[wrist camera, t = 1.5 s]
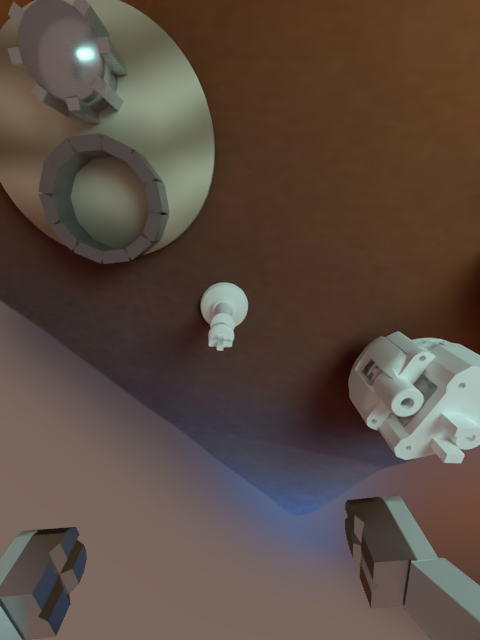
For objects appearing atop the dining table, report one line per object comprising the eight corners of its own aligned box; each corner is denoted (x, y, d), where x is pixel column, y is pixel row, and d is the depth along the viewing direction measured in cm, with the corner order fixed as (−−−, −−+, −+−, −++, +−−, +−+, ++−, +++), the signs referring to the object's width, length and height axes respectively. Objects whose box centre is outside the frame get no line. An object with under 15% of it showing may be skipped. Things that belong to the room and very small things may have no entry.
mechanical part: (403, 418, 35) (483, 514, 23) (320, 384, 33) (365, 470, 21) (464, 343, 31) (592, 413, 20) (376, 299, 29) (464, 350, 18)
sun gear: (24, 22, 20) (-11, -11, 17) (114, 11, 19) (94, -25, 17) (54, 129, 22) (28, 116, 19) (136, 119, 22) (121, 105, 19)
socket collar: (44, 150, 22) (21, 142, 20) (156, 137, 22) (147, 127, 20) (78, 263, 25) (62, 268, 23) (176, 252, 25) (170, 256, 23)
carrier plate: (-39, 26, 21) (-66, 7, 19) (198, -3, 21) (194, -25, 19) (43, 265, 27) (29, 268, 25) (227, 245, 27) (226, 247, 25)
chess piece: (246, 328, 30) (252, 378, 21) (200, 326, 30) (185, 377, 20) (249, 283, 28) (257, 315, 19) (200, 281, 28) (184, 313, 19)
